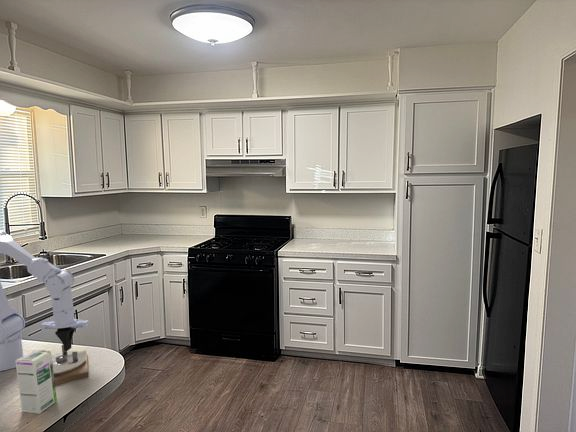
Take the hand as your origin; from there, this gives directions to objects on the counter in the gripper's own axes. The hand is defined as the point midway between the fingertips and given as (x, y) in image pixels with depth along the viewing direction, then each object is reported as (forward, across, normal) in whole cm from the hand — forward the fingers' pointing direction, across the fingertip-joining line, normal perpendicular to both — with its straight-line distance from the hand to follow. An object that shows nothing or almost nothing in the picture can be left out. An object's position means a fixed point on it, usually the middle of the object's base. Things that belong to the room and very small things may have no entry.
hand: (67, 349), depth 125 cm
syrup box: (+5, -6, +24) cm, 25 cm away
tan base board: (+5, 0, +5) cm, 7 cm away
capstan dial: (+3, 0, +5) cm, 6 cm away
